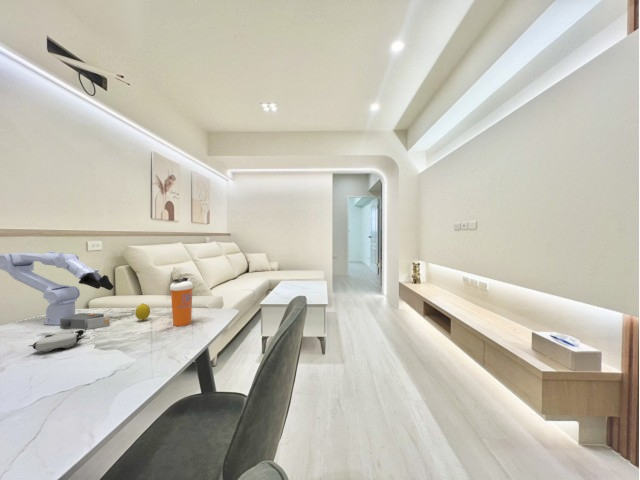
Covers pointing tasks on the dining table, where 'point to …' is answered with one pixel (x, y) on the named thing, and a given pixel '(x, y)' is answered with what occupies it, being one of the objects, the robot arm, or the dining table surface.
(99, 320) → the door
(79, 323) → the case
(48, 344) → the robot toy
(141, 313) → the lemon
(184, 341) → the dining table surface
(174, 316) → the shaker bottle
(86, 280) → the robot arm
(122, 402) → the dining table surface
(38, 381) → the dining table surface
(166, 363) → the dining table surface
